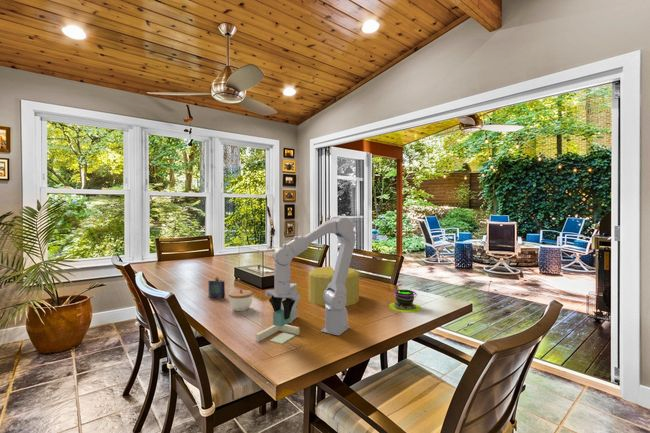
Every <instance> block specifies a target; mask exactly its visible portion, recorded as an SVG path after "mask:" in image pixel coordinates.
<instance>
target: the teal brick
mask: <svg viewBox="0 0 650 433" xmlns="http://www.w3.org/2000/svg"><path fill="white" fill-rule="evenodd" d="M289 322H291V313H290V317H289V318H288V319H287V320H286V319H285V318H284V308H282V309H280V310H278V311H275V312H274V311H273V312H272V326H273V325H275V326H280V327H282V326H283V325H285V324H287V325H288V324H290V323H289ZM291 323H292V322H291Z"/></svg>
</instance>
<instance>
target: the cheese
mask: <svg viewBox="0 0 650 433" xmlns="http://www.w3.org/2000/svg"><path fill="white" fill-rule="evenodd" d="M333 273H334V268H333V267H332V266H322V267H317V268H313V269H311V270H310V271H309V272H308V301H309V302H310V303H312V304H314V305H317V306H322V307H325V306H326V302H325V301H324V299H323V294H324V292H325V290H326V289H327V287H328V284H329V283H330V282H331V281H332V277H333ZM345 288H346V291H347V293H346V300H347V302H346V305H345V307H349V306H353V305H355V304H358V303H359V301H360V272H359V271H358V270H356V269H354V268H351V267H349V270H348V274H347V278H346V282H345Z"/></svg>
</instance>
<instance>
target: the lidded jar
mask: <svg viewBox="0 0 650 433" xmlns="http://www.w3.org/2000/svg"><path fill="white" fill-rule="evenodd" d="M253 295H254V294H253V290H249V289H242V288H240V289H238V290H233V291H230V292H229V293H228V296H229V297H228V298H229V300H228V302H229V304H230V307H231V308H232V309H233V310H234V312H244V311H247V310H248V309H249V308H250V307H251V305H252V303H253Z"/></svg>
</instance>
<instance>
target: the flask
mask: <svg viewBox="0 0 650 433" xmlns="http://www.w3.org/2000/svg"><path fill="white" fill-rule="evenodd" d="M207 283H208V298H210V297H211V298H212V297H218V298H217V299H225V298H226V290H225V289H226V288H225V280H223V279H219V276H216V277H214V279H209V280H208V282H207ZM224 297H225V298H224Z"/></svg>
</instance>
